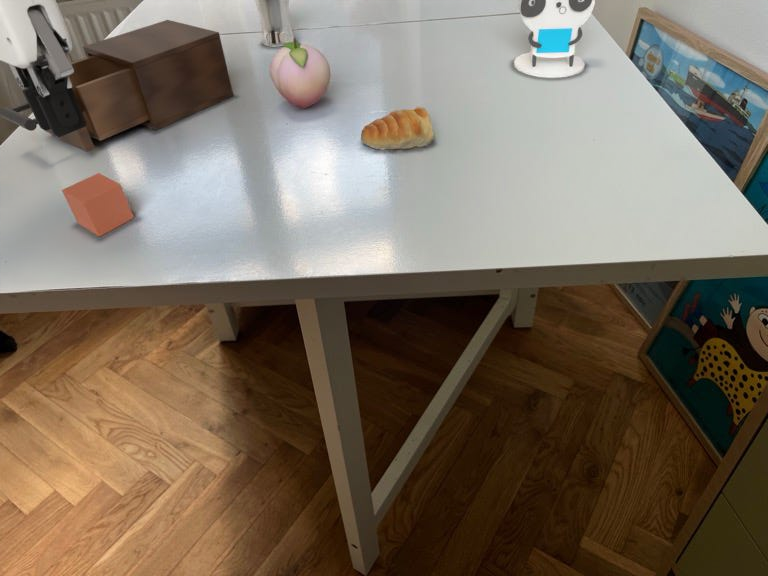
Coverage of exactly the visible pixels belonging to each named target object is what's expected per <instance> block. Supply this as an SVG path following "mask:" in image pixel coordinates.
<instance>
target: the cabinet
mask: <svg viewBox="0 0 768 576" xmlns="http://www.w3.org/2000/svg"><path fill="white" fill-rule="evenodd" d="M220 35H221V34H220V32H219V31H216V30H212V29H207V28H203V27H199V26H195V25H190V24H188V23H187V24H186V23H183V22H179V21H174V20H171V19H166V20H162V21H158V22H156V23H153V24H149V25H147V26H146V25H145V26H144V27H140V28H137V29H134V30H130V31H127V32H124V33H120V34H118V35H114V36H111V37H108V38H105V39H102V40H99V41H96V42H93V43H89V44H86V45H82V49H83V51H84V53H85V56H86V57H89V56H92V55H95V56H98V57H101V58H104V59H107V60H110V61H113V62H116V63H119V64H122V65H125V66H128V67H131V68H132V71H133V74H134V76H135V79H136V82H137V85H138V88H139V91H140V94H141V97H142V100H143V103H144V106H145V109H146V112H147V115H148V118H149V120H148V121H145V122H143V123H141V124H140V125H141V126H144V127H146V128H149V129H150V130H154V131H158V130H160V129H162V128H164V127H168V126H169V125H171V124H173V123H175V122H178V121H180V120H183V119H185V118H186V117H189V116H191V115H194V114H195V113H198V112H201V111H203V110H205V109H208V108H209V107H211V106H214V105H216V104H218V103H220V102H222V101H225V100H227V99H229V98H231V97H234V93H233V88H232V83H231V79H230V74H229V70H228V65H227V61H226V58H225V57H226V56H225V53H224V48H223V43H222V39H221V36H220Z"/></svg>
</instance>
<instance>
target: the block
mask: <svg viewBox="0 0 768 576" xmlns="http://www.w3.org/2000/svg"><path fill="white" fill-rule="evenodd" d="M61 192H62V194H63V197H64V199H65V200H66V202H67V204H68V206H69V208H70V210H71V212H72V214H73V216H74V218H75V220H76V222H77V224H78V225H79V226H82V228H84V229H86V230H88V231H89V232H91V233H93V234H94V235H96V236H98V237H101V236H103V235H105V234H107V233H110V232H111V231H112V230H114V229H116V228H118V227H120V226H122V225H123V224H125V223H128V222H129V221H131V220H133V219H135V216H134V214H133V211H132V209H131V206H130V204H129V202H128V199H127V197H126V194H125V192H124V189H123V187H122V184H121V183H119V182H117V181H115V180H113V179H111V178H109V177H107V176H106V175H104V174H102V173H99V172H97V173H95V174H93V175H91V176H89V177H87V178H84V179H82V180H80V181H78V182H76V183H74V184H71V185H69V186H67V187H65V188H63V189H61Z"/></svg>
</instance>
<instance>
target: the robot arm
mask: <svg viewBox="0 0 768 576" xmlns="http://www.w3.org/2000/svg"><path fill="white" fill-rule="evenodd" d="M72 50H73V42H72V38H71V35H70V32H69V29H68V27H67V24H66V21H65V19H64V16H63V14H62V11H61V9H60V7H59V5H58V2H57V0H0V61H1V62H2V63H3V62H4V63H5V64H7V65H8V66H9V68H10V70H11V72H12V75H13V77H14V79H15V81H16V83H17V84H18V86H19V87H20V88H21V89H22V93H23V96H24V97H25V99H26V101H27V102H28V104H29V106H30V108H29V109H30V110H31V112H32V114H33V117H34V119H35V118H36V120H37V122H38V124H37V125H38V126H39V128H40V129H42V130H43V131H44V130H50V129H51V130H52V132H53V134H54V135H56V136H58V137H61V136H64V135H66V134H69V133H71V132H74V131H76V130H79V129H81V128H83V127H85V126H86V120H85V118H84V116H83V113H82V111H81V109H80V106H79V104H78V102H77V99H76V97H75V94H74V92H73V90H72V83H71V81H70V78H69V75H71V74H72V73H74V69H73V67H72V65H71V61H70V60H69V58H68V55H70V54H71V53H72ZM25 88H28V89H26V90H25ZM27 102H26V103H27ZM54 135H53V136H54ZM56 136H55V137H56ZM58 137H57V138H58Z"/></svg>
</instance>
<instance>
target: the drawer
mask: <svg viewBox="0 0 768 576" xmlns="http://www.w3.org/2000/svg"><path fill="white" fill-rule="evenodd" d="M70 63H71V65H72V67H73V69H74V73H72V74H71V75H69V78H70V81H71V83H72V90H73V92H74V94H75V97H76V99H77V102H78V104H79V106H80V109H81V111H82V113H83V116H84V118H85V120H86V126H85V127H83V128H81V129H79V130H76V131H74V132H71V133H69V134H66V135H64V136H61V137H58V136H56V135H54V134H53V132H52V130H51V129H50V130H43V131H44V132H46V133H47V134H49V135H52V136H54V137H56V138H58V139H60V140H63V141H64V142H67V143H69V144H70V145H73V146H74V147H77V148H79V149H80V150H83V151H85V152H90V151H92V150H94V149H95V145H94V143H93V140H92V138H93V139H95V140H98V141H99V142H102V141H103V140H105V139H108V138H110V137H112V136H115V135H118V134H119V133H122V132H124V131H126V130H129V129H131V128H134V127H136V126H139V125H141V123H143V122H145V121H148V120H149V118H148V115H147V112H146V109H145V106H144V103H143V100H142V97H141V94H140V91H139V88H138V85H137V82H136V79H135V76H134V74H133V71H132V68H131V67H128V66H125V65H122V64H119V63H116V62H113V61H110V60H107V59H104V58H101V57H98V56H95V55H92V56H89V57H87V56H86V57H83V58H80V59H77V60H74V61H70ZM26 89H28V88H25V89H24V90H26ZM29 109H31V108H30V106H29V104H28V102H25V103H22V104H19V105H17V106H14V107H11V108H9V107H7V106H2V107H0V117H1V118H4V119H5V120H7V121H9V122H11V123H14V124H15V125H17V126H18V127H21V128H22V129H25V130H27V131H31V132H32V131H35V130H36V129H37V126H38V125H39V124H38V122H37V120H36V118H35V117H34V118H33V119H32V118H30V117H28V116H26V115H24V114H22V113H20V112H24V111H26V110H29Z"/></svg>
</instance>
